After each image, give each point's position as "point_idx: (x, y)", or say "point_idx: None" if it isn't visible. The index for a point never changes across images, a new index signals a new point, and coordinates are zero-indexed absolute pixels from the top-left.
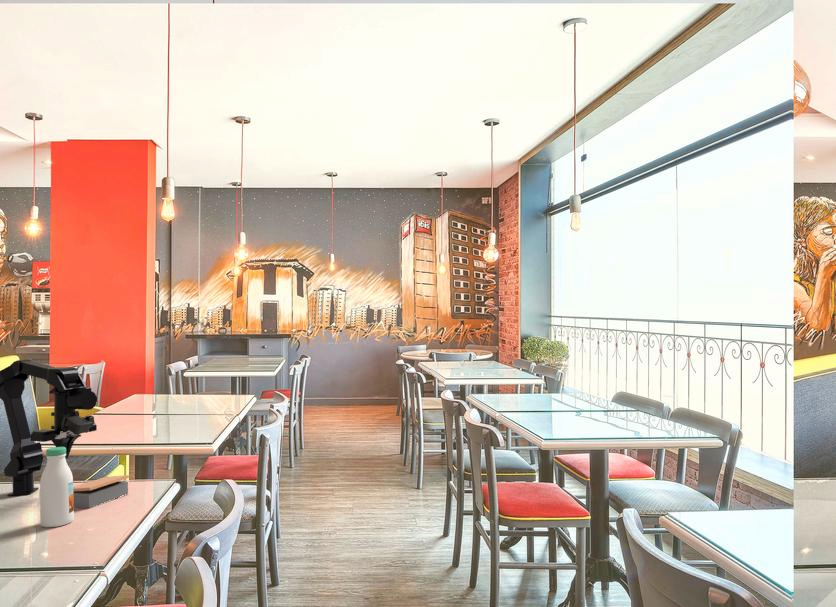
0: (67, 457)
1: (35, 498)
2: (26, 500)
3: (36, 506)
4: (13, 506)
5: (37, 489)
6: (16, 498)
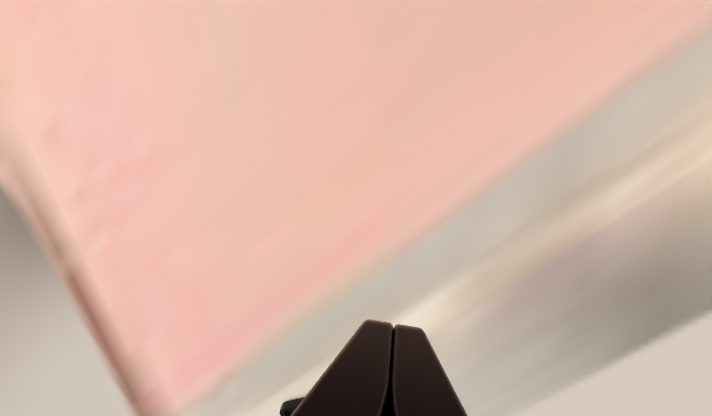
0: (370, 331)
1: (466, 296)
2: (515, 319)
3: (697, 137)
4: (664, 305)
5: (296, 399)
6: (471, 397)
